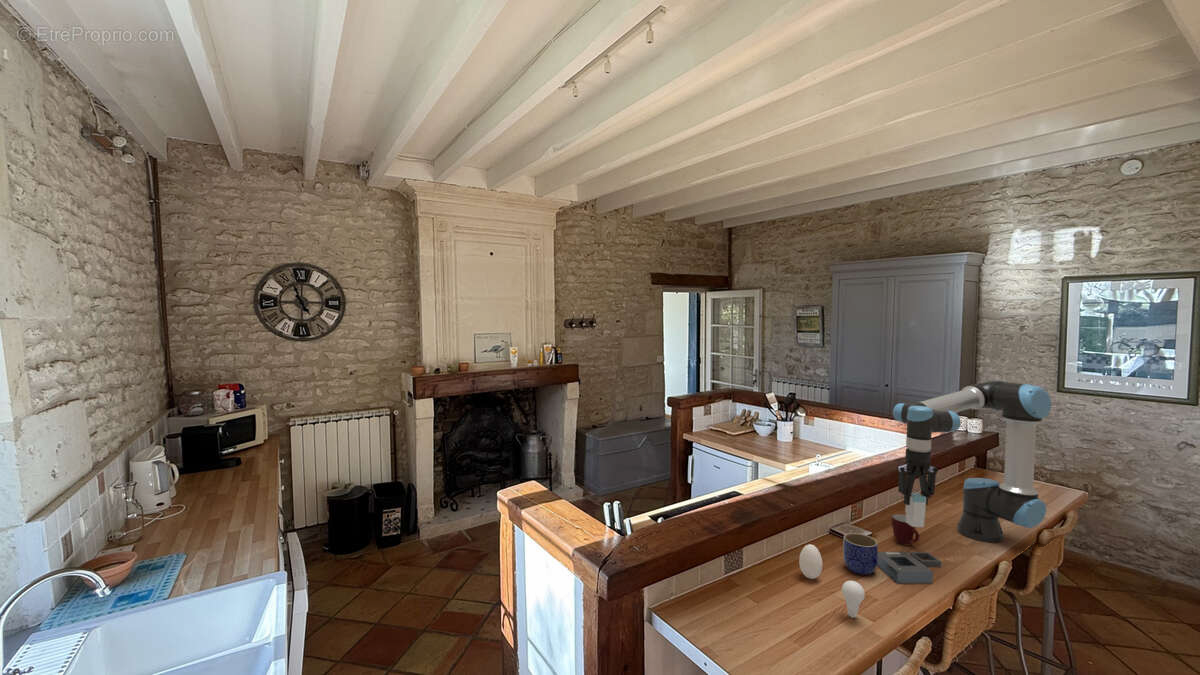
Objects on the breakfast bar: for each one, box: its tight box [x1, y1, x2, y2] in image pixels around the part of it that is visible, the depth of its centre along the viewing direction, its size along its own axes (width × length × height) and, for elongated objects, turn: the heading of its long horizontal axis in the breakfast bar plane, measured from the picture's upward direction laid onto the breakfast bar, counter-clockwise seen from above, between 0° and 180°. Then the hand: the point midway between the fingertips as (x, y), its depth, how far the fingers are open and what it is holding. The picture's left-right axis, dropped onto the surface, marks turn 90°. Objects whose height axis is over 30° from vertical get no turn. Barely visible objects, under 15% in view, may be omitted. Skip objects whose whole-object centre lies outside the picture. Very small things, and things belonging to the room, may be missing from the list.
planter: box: [842, 532, 879, 576], centre depth 174 cm, size 11×11×11 cm
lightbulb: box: [841, 580, 866, 619], centre depth 147 cm, size 6×6×11 cm
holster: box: [909, 551, 942, 568], centre depth 179 cm, size 7×7×2 cm
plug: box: [905, 492, 926, 528], centre depth 175 cm, size 4×4×11 cm
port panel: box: [876, 551, 934, 585], centre depth 172 cm, size 12×14×4 cm
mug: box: [891, 513, 920, 546], centre depth 193 cm, size 11×8×10 cm
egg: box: [798, 543, 823, 580], centre depth 169 cm, size 7×7×12 cm
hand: (915, 513), depth 175 cm, fingers closed on plug, 4 cm apart
